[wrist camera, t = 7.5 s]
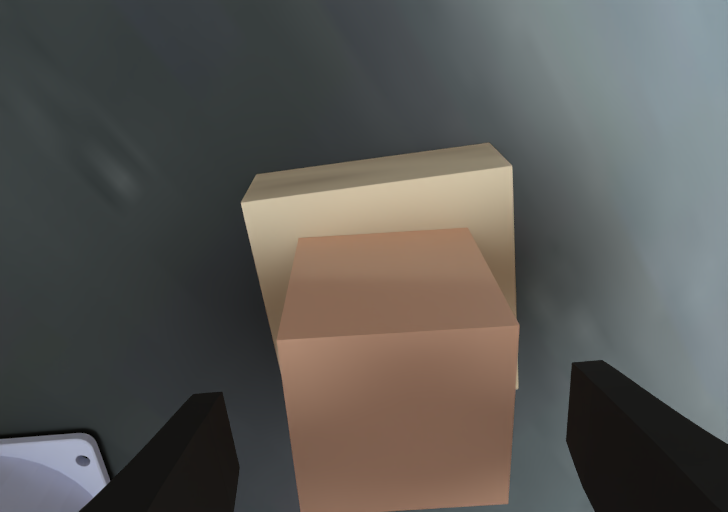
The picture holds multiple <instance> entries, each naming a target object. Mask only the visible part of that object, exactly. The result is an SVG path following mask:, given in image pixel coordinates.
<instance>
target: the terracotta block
mask: <svg viewBox="0 0 728 512" xmlns="http://www.w3.org/2000/svg"><path fill="white" fill-rule="evenodd" d="M519 327H520V325H519V323H518V321H517V320H516V318H515V316H514V314H513V312H512V310H511V308H510V306H509V304H508V303H507V301H506V299H505V297H504V295H503V293H502V291H501V289H500V287H499V286H498V284H497V282H496V280H495V278H494V276H493V274H492V272H491V270H490V268H489V267H488V265H487V263H486V261H485V259H484V257H483V255H482V253H481V251H480V250H479V248H478V246H477V244H476V242H475V240H474V238H473V236H472V234H471V233H470V231H469V229H468V228H453V229H436V230H420V231H404V232H388V233H371V234H355V235H339V236H323V237H306V238H298V243H297V247H296V252H295V257H294V261H293V266H292V270H291V275H290V280H289V284H288V289H287V294H286V298H285V303H284V308H283V312H282V317H281V322H280V326H279V331H278V336H277V347H278V355H279V362H280V369H281V376H282V383H283V390H284V397H285V404H286V412H287V419H288V426H289V433H290V440H291V447H292V454H293V461H294V469H295V476H296V483H297V490H298V497H299V504H300V511H301V512H384V511H401V510H417V509H434V508H450V507H466V506H483V505H499V504H508V498H509V482H510V467H511V451H512V436H513V420H514V405H515V389H516V373H517V358H518V342H519Z"/></svg>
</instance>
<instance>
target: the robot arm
mask: <svg viewBox="0 0 728 512" xmlns="http://www.w3.org/2000/svg"><path fill="white" fill-rule="evenodd" d="M566 442H567V445H568V448H569V451H570V454H571V457H572V459H573V462H574V465H575V468H576V471H577V473H578V476H579V479H580V481H581V484H582V486H583V489H584V491H585V493H586V495H587V497H588V499H589V501H590V503H591V505H592V507H593V509H594V511H595V512H728V444H726V443H725V442H723V441H722V440H720V439H718V438H717V437H715V436H713V435H712V434H710V433H709V432H707V431H705V430H704V429H702V428H701V427H699V426H698V425H696V424H695V423H693V422H692V421H690V420H688V419H687V418H685V417H684V416H682V415H681V414H679V413H678V412H677V411H675V410H674V409H672V408H671V407H669V406H668V405H666V404H665V403H663V402H662V401H660V400H659V399H658V398H656V397H655V396H653V395H652V394H650V393H649V392H648V391H646V390H645V389H643V388H642V387H640V386H639V385H638V384H636V383H635V382H633V381H632V380H631V379H629V378H628V377H626V376H625V375H623V374H622V373H621V372H619V371H618V370H616V369H615V368H613V367H612V366H610V365H609V364H607V363H606V362H604V361H603V360H597V361H585V362H573V363H572V370H571V383H570V396H569V409H568V422H567V435H566ZM83 456H86V457H88V458H85V457H83ZM239 468H240V467H239V463H238V458H237V454H236V450H235V445H234V441H233V437H232V432H231V428H230V424H229V419H228V415H227V411H226V406H225V402H224V398H223V393H222V392H213V393H201V394H193V395H192V396H191V397H190V398H189V399H188V400H187V401H186V402H185V403H184V404H183V405H182V406H181V408H180V409H179V410H178V411H177V412H176V413H175V414H174V415H173V416H172V417H171V418H170V420H169V421H168V422H167V423H166V424H165V425H164V426H163V427H162V428H161V429H160V431H159V432H158V433H157V434H156V435H155V436H154V437H153V438H152V439H151V440H150V441H149V442H148V443H147V445H146V446H145V447H144V448H143V449H142V450H141V451H140V452H139V453H138V454H137V455H136V456H135V457H134V458H133V459H132V460H131V461H130V463H129V464H128V465H127V466H126V467H125V468H124V469H122V470H121V471H120V472H119V473H118V474H117V475H116V476H115V477H114V478H113V479H112V480H111V481H110V478H109V476H108V473H107V470H106V467H105V464H104V462H103V459H102V456H101V453H100V450H99V448H98V445H97V442H96V441H95V439H94V438H93V437H92V436H90V435H88V434H86V433H71V434H58V435H46V436H33V437H21V438H8V439H0V512H233V511H234V505H235V498H236V491H237V484H238V476H239Z"/></svg>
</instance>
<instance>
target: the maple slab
mask: <svg viewBox="0 0 728 512" xmlns="http://www.w3.org/2000/svg"><path fill="white" fill-rule="evenodd" d="M241 206H242V210H243V215H244V219H245V223H246V227H247V232H248V236H249V240H250V244H251V248H252V253H253V257H254V261H255V265H256V270H257V274H258V278H259V282H260V287H261V291H262V295H263V299H264V304H265V308H266V312H267V316H268V321H269V325H270V329H271V333H272V338H273V342H274V346H275V350H276V355H277V359H278V363H279V367H280V362H279V355H278V347H277V336H278V331H279V326H280V322H281V317H282V312H283V308H284V303H285V298H286V294H287V289H288V284H289V280H290V275H291V270H292V266H293V261H294V257H295V252H296V247H297V243H298V238H306V237H323V236H339V235H355V234H371V233H388V232H404V231H420V230H436V229H453V228H468V229H469V231H470V233H471V234H472V236H473V238H474V240H475V242H476V244H477V246H478V248H479V250H480V251H481V253H482V255H483V257H484V259H485V261H486V263H487V265H488V267H489V268H490V270H491V272H492V274H493V276H494V278H495V280H496V282H497V284H498V286H499V287H500V289H501V291H502V293H503V295H504V297H505V299H506V301H507V303H508V304H509V306H510V308H511V310H512V312H513V314H514V316H515V318H516V282H515V246H514V210H513V174H512V165H511V164H510V163H509V162H508V161H507V160H506V159H505V158H504V157H503V156H502V155H501V154H500V153H499V152H498V151H497V150H496V149H495V148H494V147H493V146H492V145H491V144H490V143H483V144H475V145H468V146H461V147H453V148H446V149H439V150H431V151H424V152H417V153H409V154H402V155H395V156H387V157H380V158H373V159H365V160H358V161H351V162H343V163H336V164H329V165H321V166H314V167H307V168H299V169H292V170H285V171H277V172H270V173H263V174H256V176H255V178H254V179H253V181H252V183H251V185H250V187H249V189H248V190H247V192H246V194H245V196H244V198H243V199H242V201H241ZM516 320H517V318H516ZM280 372H281V369H280ZM516 389H518V358H517V373H516Z"/></svg>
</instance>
